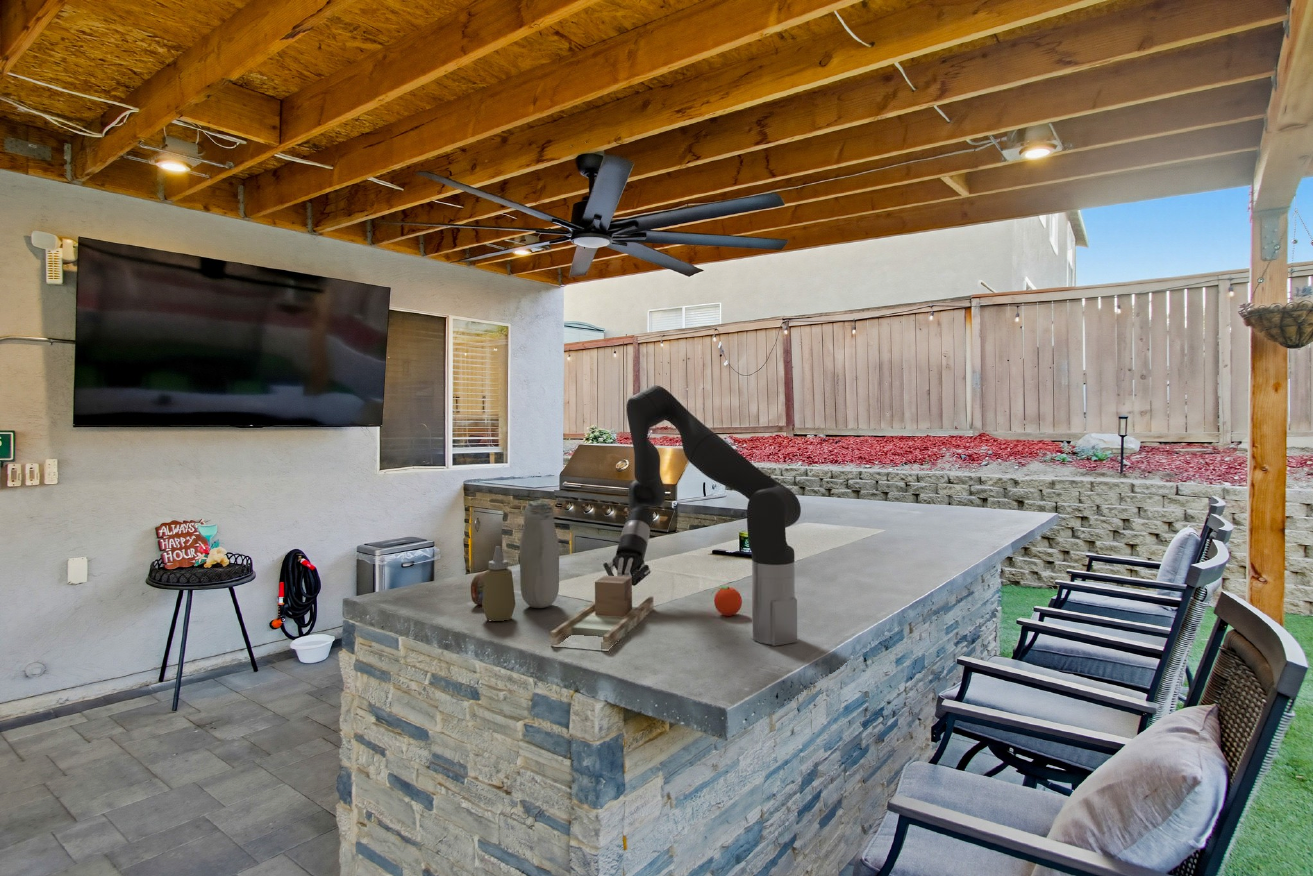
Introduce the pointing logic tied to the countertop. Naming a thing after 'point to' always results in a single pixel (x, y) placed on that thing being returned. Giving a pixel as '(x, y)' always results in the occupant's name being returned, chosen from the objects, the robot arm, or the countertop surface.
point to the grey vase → (539, 556)
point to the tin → (477, 588)
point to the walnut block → (613, 596)
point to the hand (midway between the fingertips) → (618, 598)
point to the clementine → (727, 601)
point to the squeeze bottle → (498, 589)
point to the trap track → (601, 624)
